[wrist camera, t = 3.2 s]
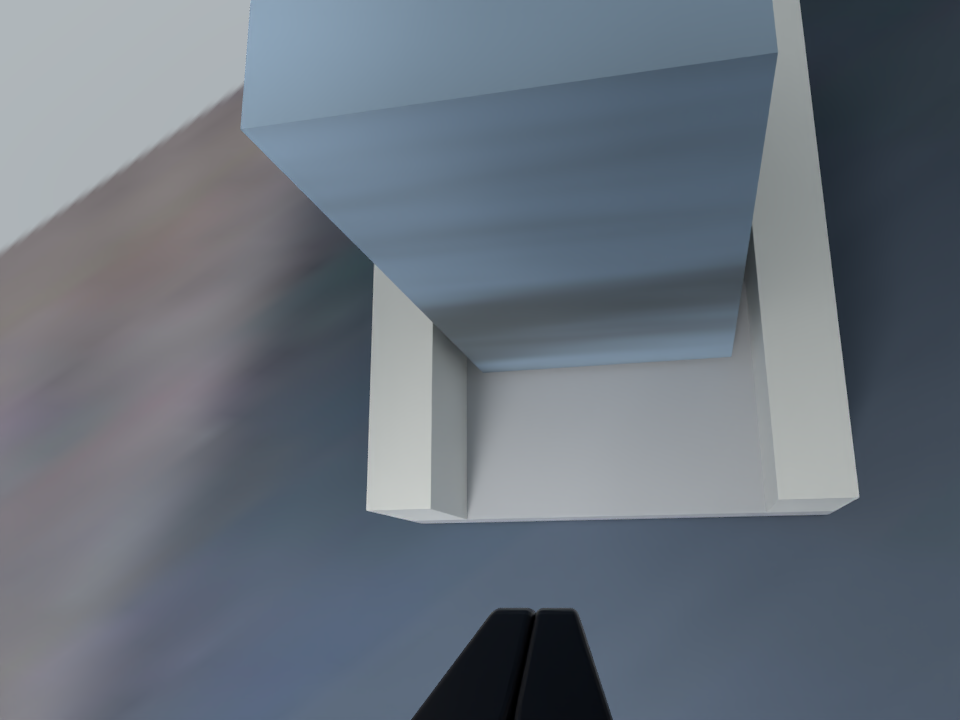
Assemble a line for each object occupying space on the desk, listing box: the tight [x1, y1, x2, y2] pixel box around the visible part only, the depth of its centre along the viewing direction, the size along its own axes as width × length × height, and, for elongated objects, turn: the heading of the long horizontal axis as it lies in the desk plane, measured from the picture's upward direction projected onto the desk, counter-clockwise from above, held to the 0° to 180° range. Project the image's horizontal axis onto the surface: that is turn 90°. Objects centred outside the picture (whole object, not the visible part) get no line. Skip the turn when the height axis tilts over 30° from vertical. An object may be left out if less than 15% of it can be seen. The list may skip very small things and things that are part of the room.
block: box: [241, 0, 778, 373], centre depth 13 cm, size 5×5×10 cm
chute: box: [366, 0, 859, 524], centre depth 17 cm, size 10×8×3 cm
